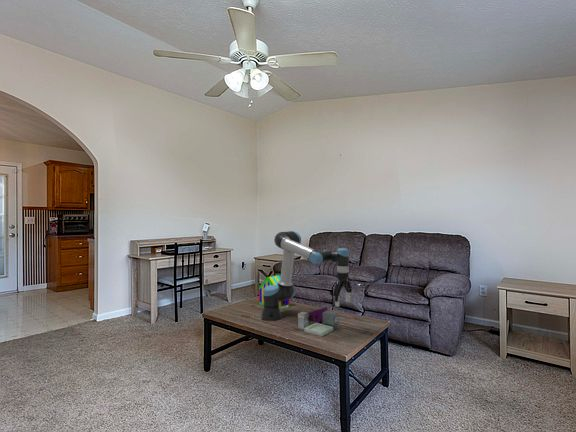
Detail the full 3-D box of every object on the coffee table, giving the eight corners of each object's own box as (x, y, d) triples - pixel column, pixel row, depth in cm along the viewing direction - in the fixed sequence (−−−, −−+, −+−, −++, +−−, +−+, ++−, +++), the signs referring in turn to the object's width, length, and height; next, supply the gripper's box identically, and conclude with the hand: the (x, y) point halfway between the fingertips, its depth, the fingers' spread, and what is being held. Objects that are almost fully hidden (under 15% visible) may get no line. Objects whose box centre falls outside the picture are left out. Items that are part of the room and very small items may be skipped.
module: (297, 328, 221) (297, 313, 221) (302, 326, 225) (302, 311, 225) (304, 329, 218) (303, 314, 218) (308, 327, 222) (308, 312, 222)
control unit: (322, 327, 223) (322, 312, 223) (326, 324, 227) (326, 310, 227) (334, 330, 217) (334, 314, 217) (338, 327, 221) (338, 313, 221)
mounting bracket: (305, 327, 241) (322, 321, 229) (301, 315, 244) (318, 309, 232) (314, 324, 247) (330, 318, 235) (310, 313, 250) (326, 306, 238)
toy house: (289, 306, 274) (289, 276, 273) (277, 310, 264) (276, 279, 264) (271, 301, 291) (270, 273, 291) (259, 304, 282) (258, 275, 282)
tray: (304, 331, 214) (304, 328, 214) (316, 326, 224) (316, 322, 224) (321, 336, 205) (321, 332, 205) (333, 330, 216) (333, 326, 216)
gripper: (337, 275, 204) (337, 309, 204) (357, 270, 223) (356, 301, 223) (327, 274, 208) (327, 307, 209) (347, 268, 228) (347, 299, 228)
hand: (342, 304), depth 216 cm, fingers open, 13 cm apart
